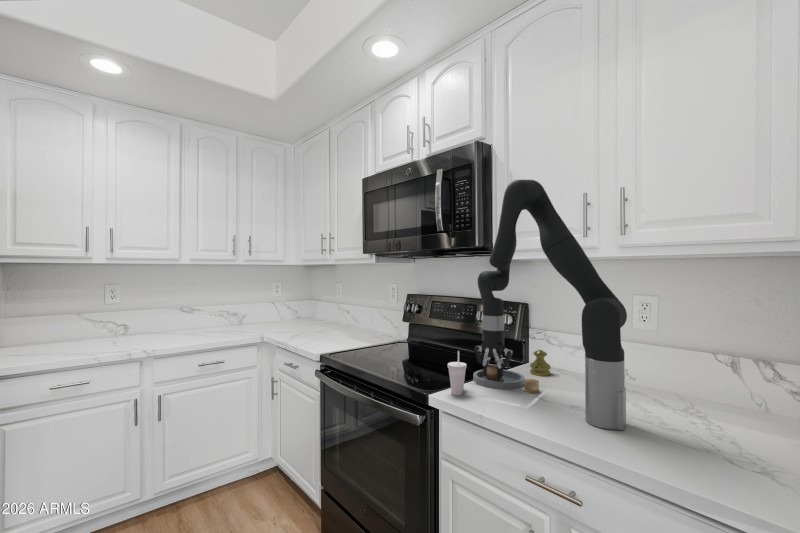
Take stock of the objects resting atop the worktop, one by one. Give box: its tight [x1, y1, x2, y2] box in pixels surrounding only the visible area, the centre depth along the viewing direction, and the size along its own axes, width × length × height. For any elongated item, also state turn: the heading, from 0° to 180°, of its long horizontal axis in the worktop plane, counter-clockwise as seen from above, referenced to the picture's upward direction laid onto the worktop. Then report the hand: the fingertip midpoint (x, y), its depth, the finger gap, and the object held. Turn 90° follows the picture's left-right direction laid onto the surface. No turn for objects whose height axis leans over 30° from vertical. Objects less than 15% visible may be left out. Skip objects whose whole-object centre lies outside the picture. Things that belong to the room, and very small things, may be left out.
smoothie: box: [447, 350, 468, 396], centre depth 124 cm, size 6×6×14 cm
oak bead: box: [524, 378, 540, 397], centre depth 123 cm, size 4×4×4 cm
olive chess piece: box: [529, 349, 552, 377], centre depth 144 cm, size 7×7×10 cm
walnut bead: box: [487, 364, 500, 381], centre depth 130 cm, size 4×4×4 cm
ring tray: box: [472, 369, 525, 390], centre depth 134 cm, size 18×18×3 cm
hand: (493, 377), depth 130 cm, fingers closed on walnut bead, 4 cm apart
